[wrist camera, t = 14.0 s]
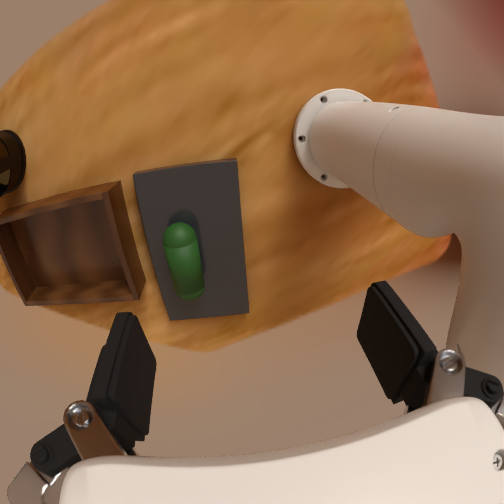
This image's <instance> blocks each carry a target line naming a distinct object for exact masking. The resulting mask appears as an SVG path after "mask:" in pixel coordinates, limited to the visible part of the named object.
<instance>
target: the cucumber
mask: <svg viewBox="0 0 504 504" xmlns="http://www.w3.org/2000/svg"><path fill="white" fill-rule="evenodd" d="M163 246H164V250H165V255H166V259H167V263H168V267H169V271H170V275H171V279H172V283H173V287H174V290H175V292H176V294H177V295H178V296H179V297H180V298H181V299H183V300H186V301H193V300H196V299H198V298H199V297H200V296H201V295H202V294H203V292H204V289H205V281H204V276H203V270H202V265H201V259H200V253H199V247H198V241H197V236H196V233H195V231H194V229H193V228H192V227H191V226H190V225H188V224H186V223H182V222H178V223H174V224H172V225H170V226H169V227H168V228H167V229H166V230H165V232H164V234H163Z"/></svg>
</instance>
